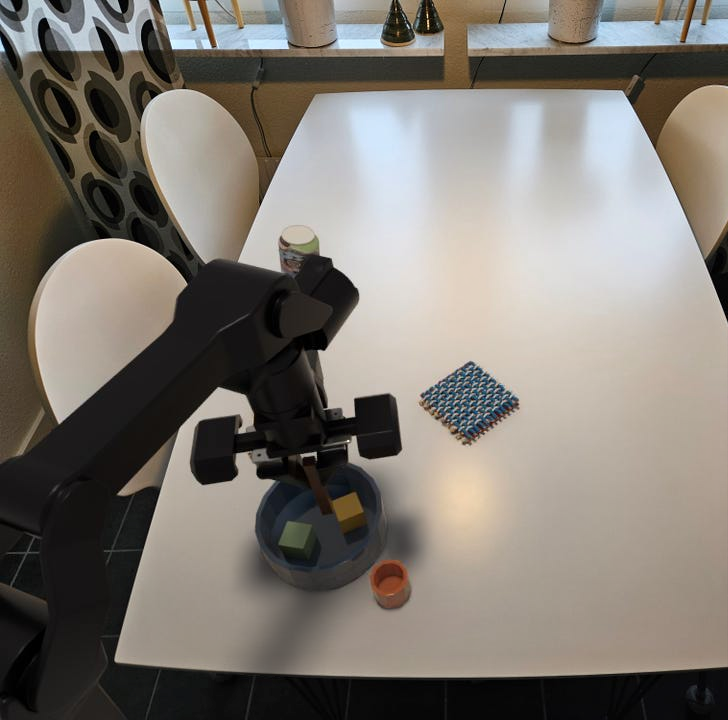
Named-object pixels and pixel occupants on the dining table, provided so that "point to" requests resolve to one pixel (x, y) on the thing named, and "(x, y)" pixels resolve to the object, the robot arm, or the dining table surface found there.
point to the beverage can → (296, 248)
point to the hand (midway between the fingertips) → (317, 483)
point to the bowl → (323, 531)
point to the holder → (390, 583)
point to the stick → (317, 485)
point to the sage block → (297, 540)
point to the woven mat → (469, 400)
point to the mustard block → (349, 512)
